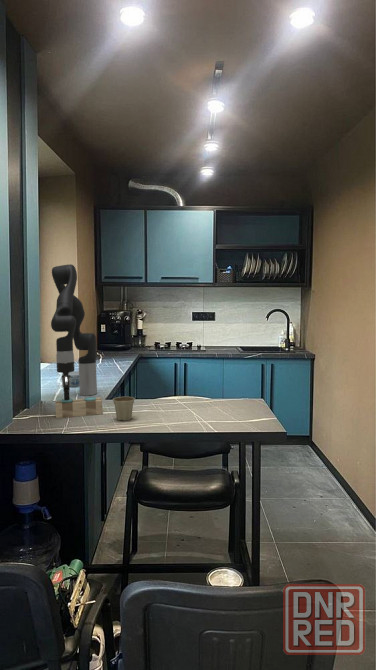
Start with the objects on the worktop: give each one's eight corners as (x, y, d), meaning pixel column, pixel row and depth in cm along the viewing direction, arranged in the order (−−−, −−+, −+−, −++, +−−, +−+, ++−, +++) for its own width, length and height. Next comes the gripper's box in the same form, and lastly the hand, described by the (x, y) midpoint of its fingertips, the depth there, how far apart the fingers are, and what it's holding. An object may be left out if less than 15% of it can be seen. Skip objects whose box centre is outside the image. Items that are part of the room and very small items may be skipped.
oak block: (56, 414, 202) (55, 401, 201) (101, 410, 207) (100, 397, 207) (56, 418, 195) (55, 404, 195) (102, 413, 201) (102, 400, 200)
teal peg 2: (84, 411, 204) (83, 397, 204) (96, 410, 206) (95, 396, 205) (85, 414, 199) (84, 399, 199) (96, 413, 201) (96, 398, 200)
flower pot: (140, 417, 193) (139, 398, 192) (125, 423, 185) (124, 402, 184) (123, 415, 198) (123, 395, 197) (108, 420, 190) (107, 399, 190)
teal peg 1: (61, 413, 202) (60, 399, 201) (73, 412, 203) (72, 398, 203) (61, 416, 197) (61, 401, 196) (73, 415, 198) (73, 400, 198)
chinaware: (91, 383, 277) (90, 371, 276) (83, 388, 262) (82, 375, 261) (67, 383, 278) (67, 371, 278) (58, 388, 263) (57, 375, 263)
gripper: (56, 359, 203) (58, 397, 205) (56, 363, 191) (58, 403, 192) (73, 358, 205) (75, 396, 207) (74, 362, 193) (76, 402, 194)
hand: (66, 399), depth 199 cm, fingers closed
